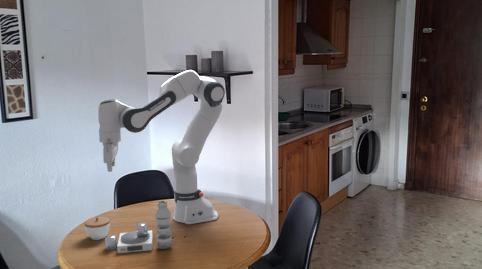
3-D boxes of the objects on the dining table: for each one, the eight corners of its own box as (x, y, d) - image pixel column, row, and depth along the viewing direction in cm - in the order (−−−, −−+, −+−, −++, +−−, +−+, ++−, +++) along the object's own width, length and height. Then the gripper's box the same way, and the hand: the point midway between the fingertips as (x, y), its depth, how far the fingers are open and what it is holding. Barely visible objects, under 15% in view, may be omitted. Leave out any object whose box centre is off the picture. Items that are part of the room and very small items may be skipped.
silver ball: (148, 232, 185) (147, 222, 184) (148, 237, 180) (147, 226, 179) (137, 233, 184) (136, 223, 183) (136, 238, 179) (135, 227, 178)
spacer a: (118, 245, 182) (117, 234, 181) (116, 249, 177) (116, 238, 177) (106, 246, 181) (105, 235, 180) (105, 251, 176) (104, 239, 176)
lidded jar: (104, 230, 198) (102, 211, 196) (115, 237, 190) (113, 217, 189) (81, 237, 191) (80, 217, 189) (92, 244, 183) (90, 223, 181)
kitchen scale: (152, 236, 190) (152, 228, 190) (152, 250, 176) (151, 241, 176) (120, 239, 188) (119, 231, 187) (117, 253, 174) (116, 245, 173)
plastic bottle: (157, 244, 181) (154, 200, 178) (173, 244, 182) (171, 199, 179) (155, 251, 175) (153, 205, 172) (171, 250, 176) (169, 204, 172)
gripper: (115, 141, 172) (116, 174, 175) (119, 133, 192) (121, 163, 195) (98, 141, 171) (100, 174, 174) (105, 133, 191) (106, 163, 193)
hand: (111, 168), depth 184 cm, fingers open, 8 cm apart
